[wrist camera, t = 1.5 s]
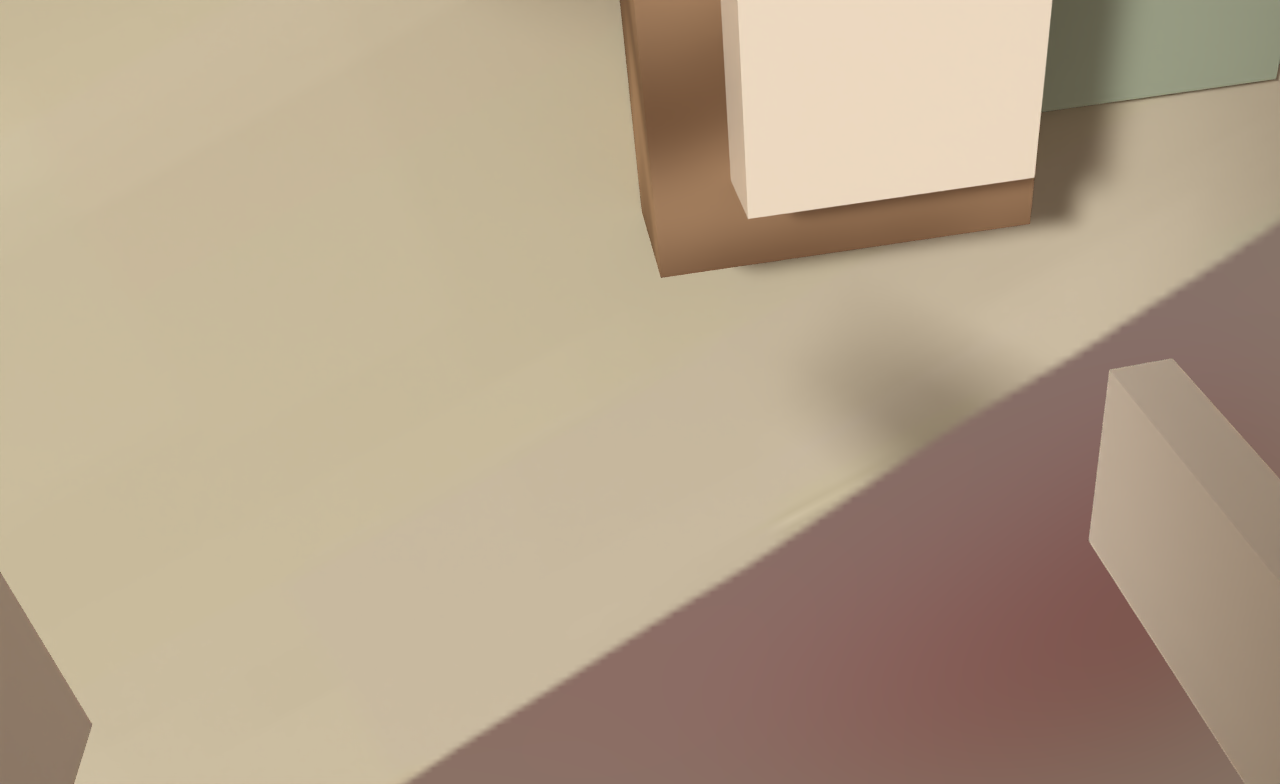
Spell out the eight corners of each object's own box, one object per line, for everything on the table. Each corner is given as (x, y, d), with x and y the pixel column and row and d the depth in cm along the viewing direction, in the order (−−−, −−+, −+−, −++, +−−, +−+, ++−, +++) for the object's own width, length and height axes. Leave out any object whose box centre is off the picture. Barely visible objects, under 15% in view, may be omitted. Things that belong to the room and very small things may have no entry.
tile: (714, -113, 26) (732, -89, 25) (1025, -153, 27) (1065, -133, 25) (730, 180, 30) (748, 218, 29) (1000, 141, 31) (1034, 177, 29)
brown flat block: (598, -204, 29) (616, -174, 25) (1006, -256, 29) (1076, -234, 26) (642, 211, 35) (660, 277, 32) (976, 163, 36) (1029, 223, 32)
